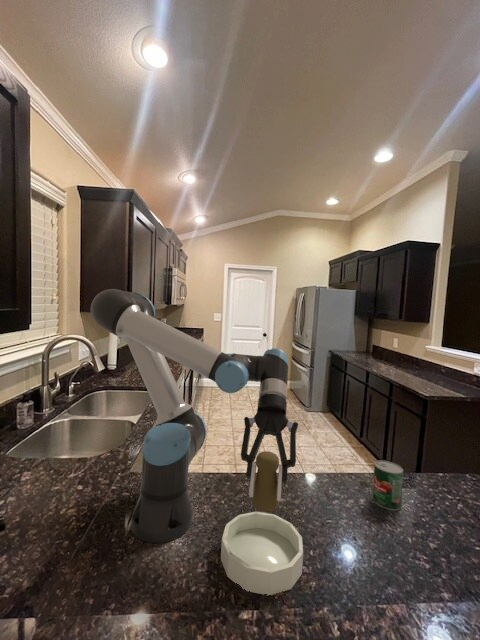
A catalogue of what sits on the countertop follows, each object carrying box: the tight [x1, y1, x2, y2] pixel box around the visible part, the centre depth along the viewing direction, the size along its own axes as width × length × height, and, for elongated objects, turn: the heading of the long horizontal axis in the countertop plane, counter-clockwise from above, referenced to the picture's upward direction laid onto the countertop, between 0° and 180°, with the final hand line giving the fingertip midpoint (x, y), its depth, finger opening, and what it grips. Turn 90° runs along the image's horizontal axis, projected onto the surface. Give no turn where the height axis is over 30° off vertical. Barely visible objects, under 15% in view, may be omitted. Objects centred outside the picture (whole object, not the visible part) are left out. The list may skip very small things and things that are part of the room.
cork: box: [251, 450, 280, 513], centre depth 66 cm, size 6×6×11 cm
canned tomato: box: [372, 459, 404, 512], centre depth 91 cm, size 8×8×11 cm
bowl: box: [220, 511, 304, 596], centre depth 66 cm, size 18×18×4 cm
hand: (264, 497), depth 63 cm, fingers closed on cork, 5 cm apart
